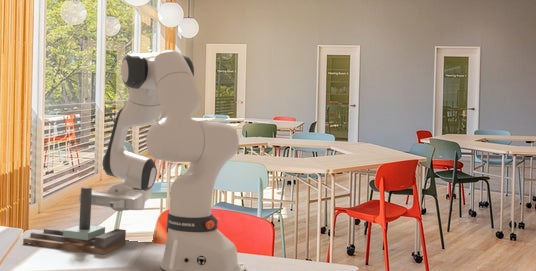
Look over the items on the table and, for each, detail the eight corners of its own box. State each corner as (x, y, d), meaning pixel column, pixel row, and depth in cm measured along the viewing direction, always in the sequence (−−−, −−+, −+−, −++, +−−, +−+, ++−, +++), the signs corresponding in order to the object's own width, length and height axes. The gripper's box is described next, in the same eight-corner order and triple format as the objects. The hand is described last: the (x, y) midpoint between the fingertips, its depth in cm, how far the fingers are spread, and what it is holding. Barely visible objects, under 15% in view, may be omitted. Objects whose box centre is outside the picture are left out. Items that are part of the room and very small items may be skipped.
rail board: (125, 244, 162) (125, 229, 162) (103, 254, 150) (104, 238, 150) (49, 235, 168) (50, 220, 168) (23, 243, 157) (23, 228, 156)
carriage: (104, 233, 162) (106, 187, 161) (87, 240, 153) (90, 191, 153) (81, 230, 164) (83, 184, 163) (63, 237, 155) (65, 188, 154)
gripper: (93, 184, 181) (68, 190, 167) (149, 190, 176) (128, 196, 163) (92, 203, 181) (67, 210, 168) (148, 209, 176) (127, 217, 163)
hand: (98, 203), depth 165 cm, fingers open, 8 cm apart
